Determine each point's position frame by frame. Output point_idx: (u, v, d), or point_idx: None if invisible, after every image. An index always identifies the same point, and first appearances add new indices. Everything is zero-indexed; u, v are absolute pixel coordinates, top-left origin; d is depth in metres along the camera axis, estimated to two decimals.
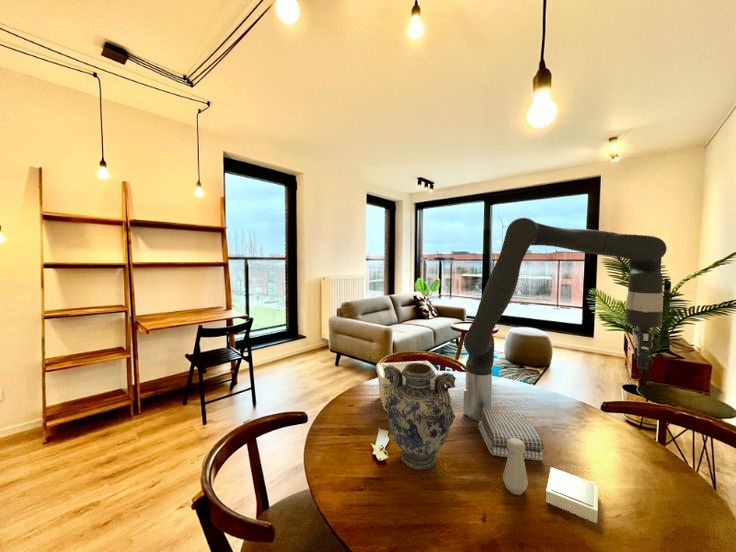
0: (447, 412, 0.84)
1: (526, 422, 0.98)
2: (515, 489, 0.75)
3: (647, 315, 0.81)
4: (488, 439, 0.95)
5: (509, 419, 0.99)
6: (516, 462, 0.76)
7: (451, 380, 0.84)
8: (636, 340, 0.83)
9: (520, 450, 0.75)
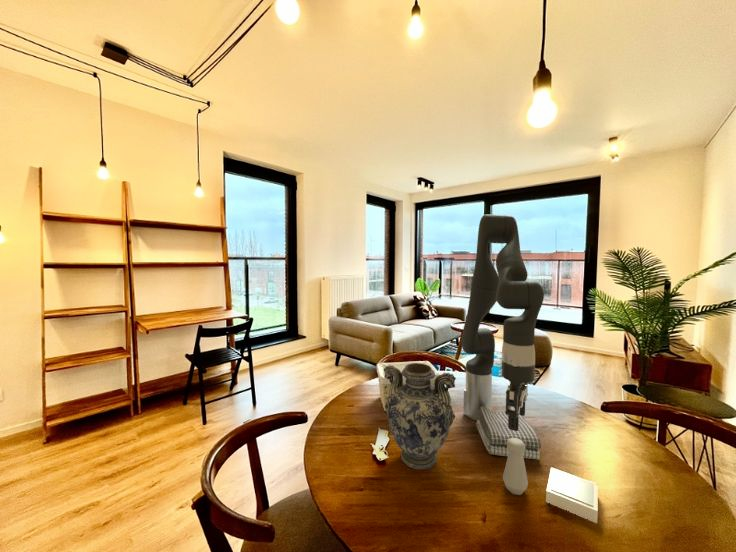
0: (447, 412, 0.84)
1: (524, 421, 0.98)
2: (515, 489, 0.75)
3: (516, 370, 0.73)
4: (486, 438, 0.95)
5: (507, 419, 1.00)
6: (516, 462, 0.76)
7: (451, 380, 0.84)
8: None
9: (520, 450, 0.75)
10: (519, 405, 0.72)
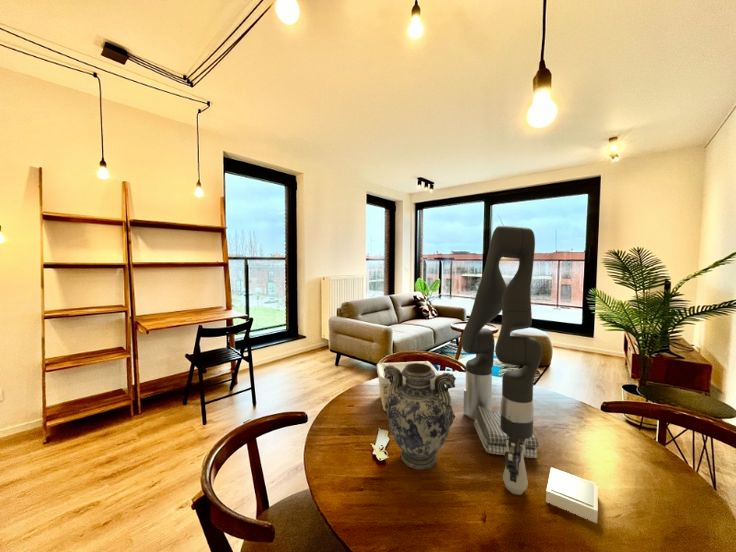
0: (447, 412, 0.84)
1: None
2: (515, 489, 0.75)
3: (515, 426, 0.73)
4: (484, 437, 0.96)
5: None
6: None
7: (451, 380, 0.84)
8: (507, 451, 0.76)
9: None
10: (519, 461, 0.75)
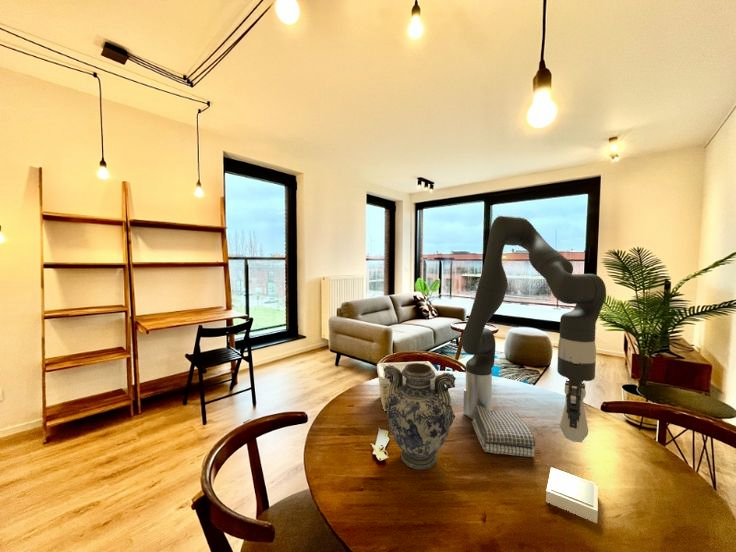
0: (447, 412, 0.84)
1: (519, 419, 0.99)
2: (576, 435, 0.71)
3: (577, 367, 0.69)
4: (481, 436, 0.96)
5: (502, 417, 1.01)
6: None
7: (451, 380, 0.84)
8: None
9: None
10: (580, 405, 0.70)
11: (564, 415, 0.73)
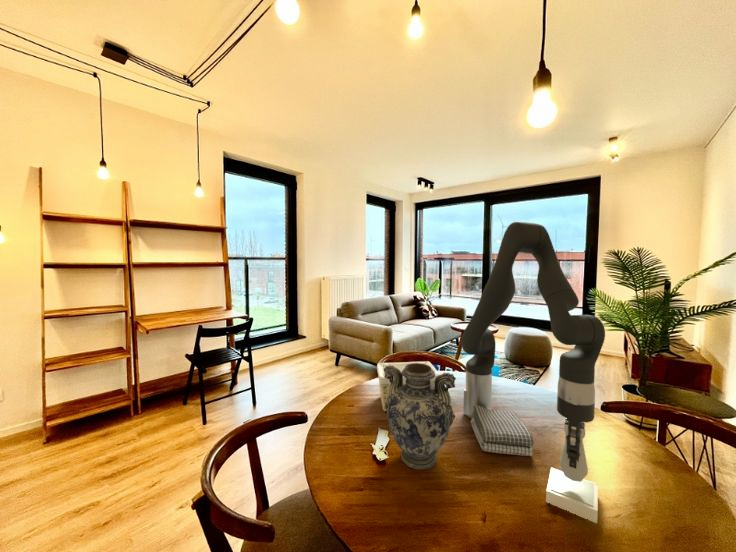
0: (447, 412, 0.84)
1: (517, 419, 1.00)
2: (575, 475, 0.72)
3: (576, 408, 0.70)
4: (480, 435, 0.97)
5: (500, 416, 1.01)
6: None
7: (451, 380, 0.84)
8: (566, 435, 0.73)
9: None
10: (579, 446, 0.71)
11: (564, 454, 0.74)
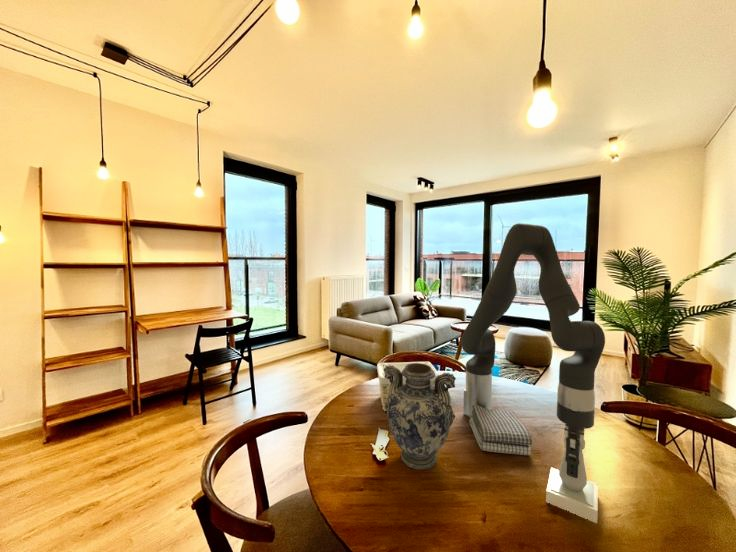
0: (447, 412, 0.84)
1: (516, 418, 1.00)
2: (574, 486, 0.72)
3: (576, 414, 0.70)
4: (478, 435, 0.97)
5: (499, 416, 1.02)
6: None
7: (451, 380, 0.84)
8: (565, 441, 0.72)
9: None
10: (579, 452, 0.70)
11: (563, 464, 0.74)
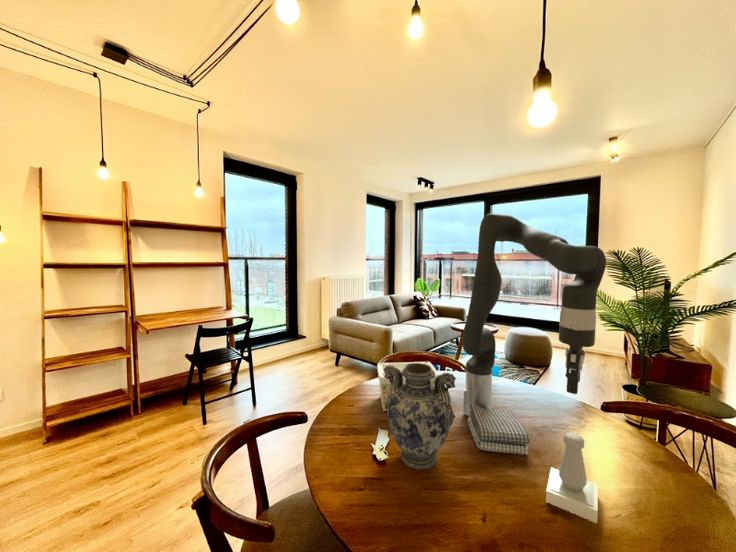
0: (447, 412, 0.84)
1: (513, 418, 1.00)
2: (574, 485, 0.72)
3: (577, 333, 0.73)
4: (476, 434, 0.98)
5: (497, 415, 1.02)
6: (575, 458, 0.72)
7: (451, 380, 0.84)
8: (566, 360, 0.75)
9: (579, 445, 0.72)
10: (579, 368, 0.73)
11: (563, 464, 0.74)
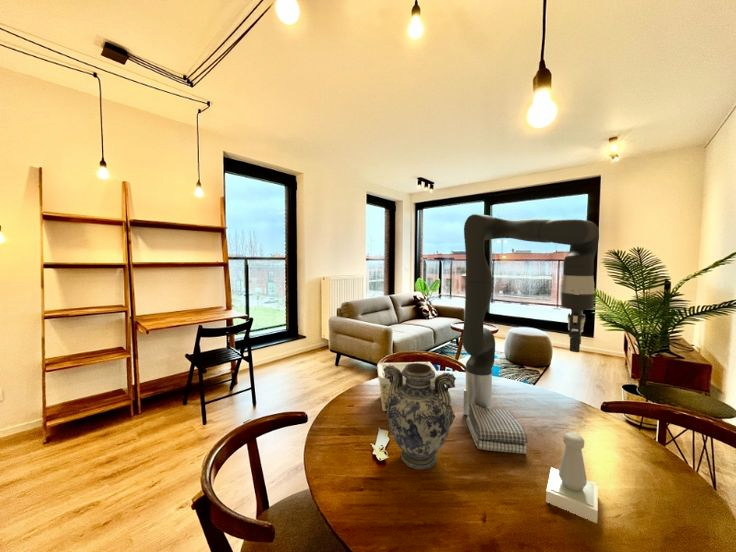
0: (447, 412, 0.84)
1: (512, 417, 1.01)
2: (574, 485, 0.72)
3: (578, 298, 0.81)
4: (475, 433, 0.98)
5: (495, 415, 1.03)
6: (575, 458, 0.72)
7: (451, 380, 0.84)
8: (569, 323, 0.84)
9: (579, 445, 0.72)
10: (580, 329, 0.81)
11: (563, 464, 0.74)
